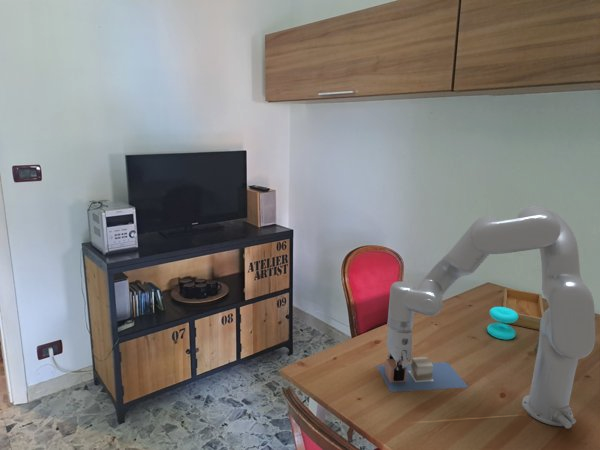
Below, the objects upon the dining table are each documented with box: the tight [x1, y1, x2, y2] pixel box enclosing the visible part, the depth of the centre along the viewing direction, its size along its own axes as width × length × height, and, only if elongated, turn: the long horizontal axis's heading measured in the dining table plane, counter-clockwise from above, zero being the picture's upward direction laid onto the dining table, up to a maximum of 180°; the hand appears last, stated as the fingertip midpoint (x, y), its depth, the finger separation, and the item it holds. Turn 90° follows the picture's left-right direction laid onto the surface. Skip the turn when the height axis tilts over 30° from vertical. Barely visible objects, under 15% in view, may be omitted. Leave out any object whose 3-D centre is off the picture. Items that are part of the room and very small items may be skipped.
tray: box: [502, 287, 545, 331], centre depth 183 cm, size 31×15×6 cm, turn 153°
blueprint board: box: [376, 361, 469, 393], centre depth 134 cm, size 14×25×1 cm, turn 97°
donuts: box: [486, 306, 518, 341], centre depth 162 cm, size 10×10×10 cm
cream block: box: [410, 356, 433, 381], centre depth 133 cm, size 5×5×5 cm
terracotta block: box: [385, 358, 407, 383], centre depth 132 cm, size 5×5×5 cm
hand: (395, 374), depth 132 cm, fingers closed on terracotta block, 4 cm apart
